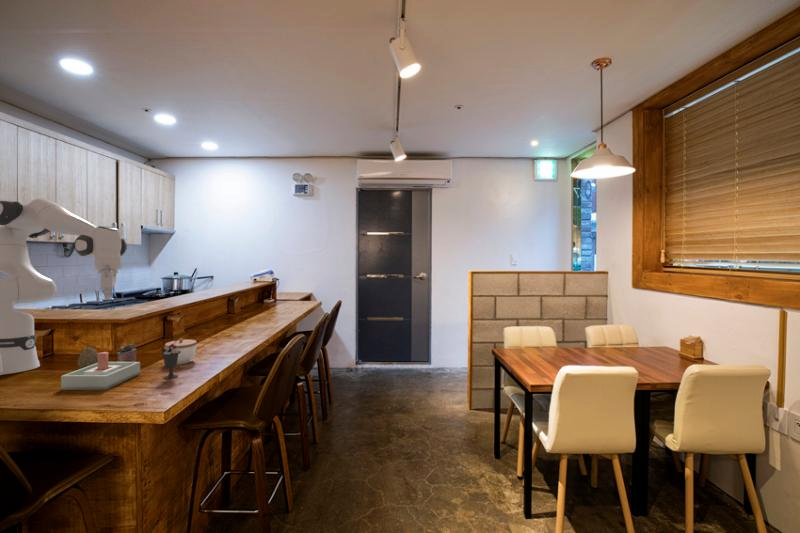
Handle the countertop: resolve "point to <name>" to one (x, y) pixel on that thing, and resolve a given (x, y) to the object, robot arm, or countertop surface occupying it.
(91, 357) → the decorative egg
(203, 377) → the countertop surface
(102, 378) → the box
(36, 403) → the countertop surface
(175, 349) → the sundae
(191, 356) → the lidded bowl
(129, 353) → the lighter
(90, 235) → the robot arm
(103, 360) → the dowel
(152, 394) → the countertop surface
